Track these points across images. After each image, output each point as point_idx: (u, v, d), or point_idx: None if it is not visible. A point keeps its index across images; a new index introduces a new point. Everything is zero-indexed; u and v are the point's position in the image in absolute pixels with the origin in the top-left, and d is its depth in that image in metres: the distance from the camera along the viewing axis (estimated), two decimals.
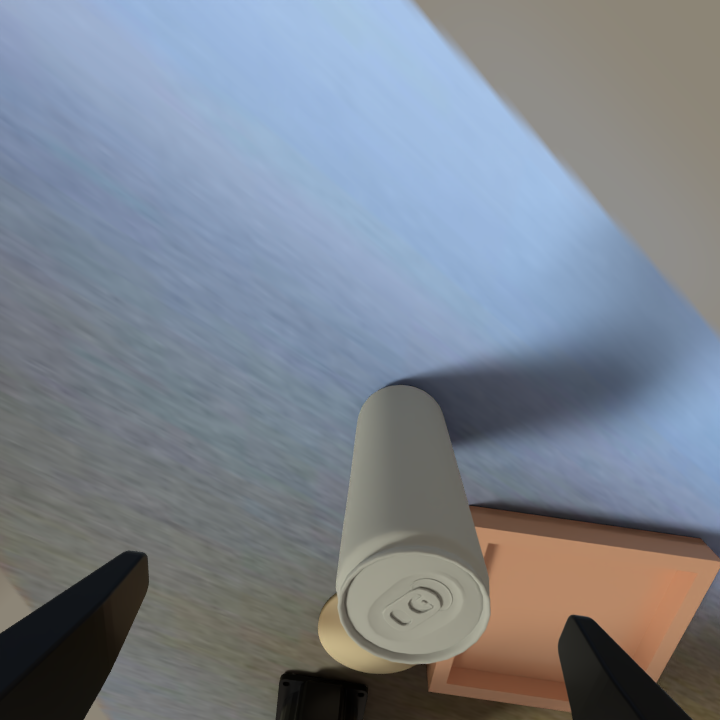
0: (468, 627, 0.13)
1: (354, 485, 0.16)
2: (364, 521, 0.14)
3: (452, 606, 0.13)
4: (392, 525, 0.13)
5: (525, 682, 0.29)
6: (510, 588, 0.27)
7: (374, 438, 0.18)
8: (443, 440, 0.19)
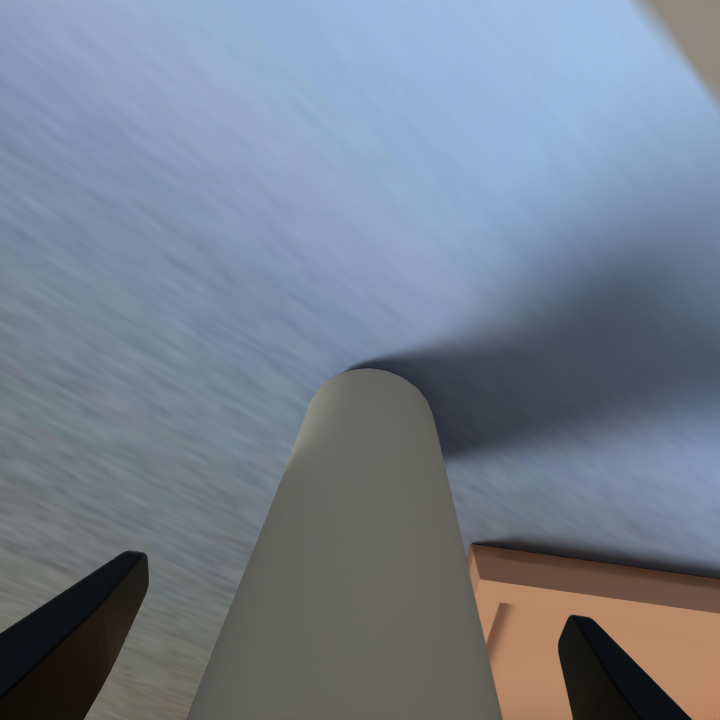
0: None
1: (255, 548, 0.09)
2: (231, 662, 0.06)
3: None
4: (280, 693, 0.05)
5: None
6: (529, 658, 0.19)
7: (307, 454, 0.10)
8: (428, 458, 0.11)
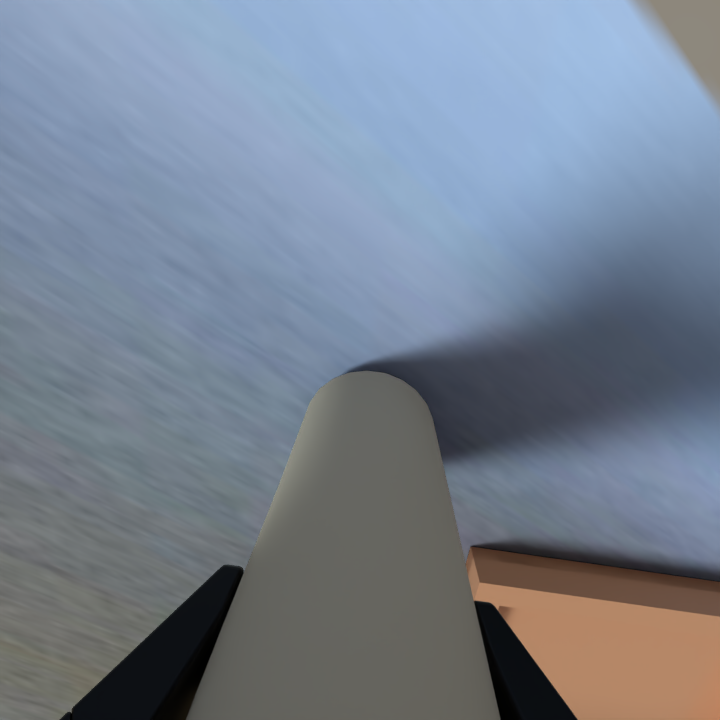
0: None
1: (252, 553, 0.09)
2: (227, 671, 0.06)
3: None
4: (277, 703, 0.05)
5: None
6: None
7: (305, 458, 0.10)
8: (427, 461, 0.11)
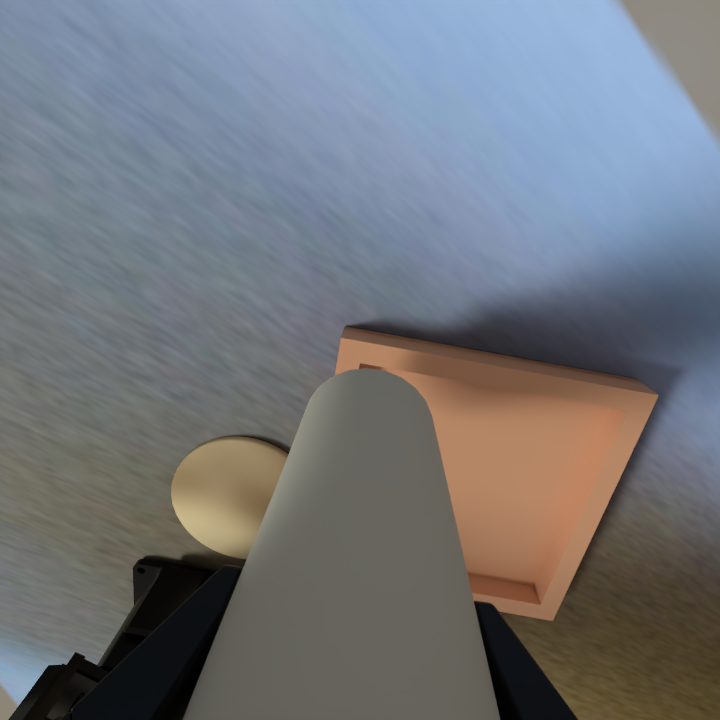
0: None
1: (251, 549, 0.09)
2: (225, 664, 0.06)
3: None
4: (275, 696, 0.05)
5: None
6: None
7: (304, 455, 0.10)
8: (426, 458, 0.11)
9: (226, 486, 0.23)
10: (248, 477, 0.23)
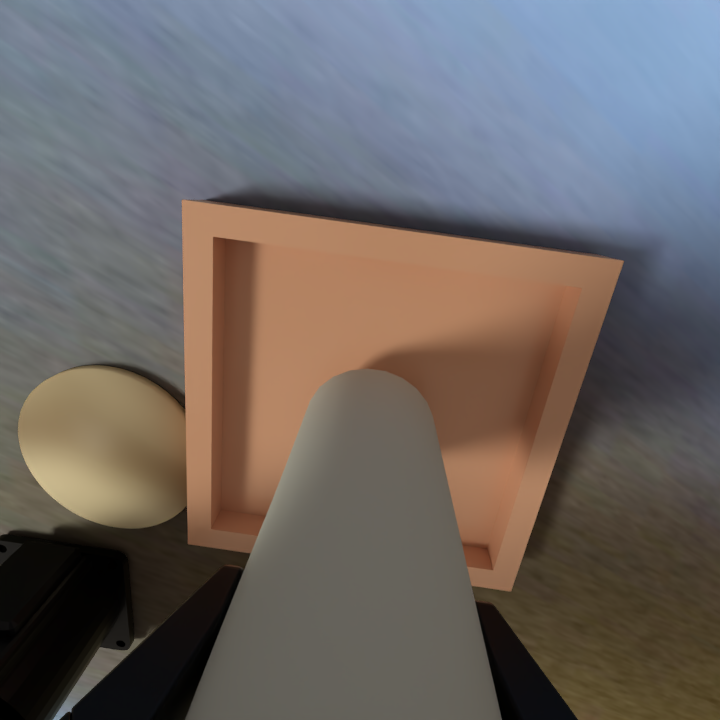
0: None
1: (253, 550, 0.09)
2: (227, 665, 0.06)
3: None
4: (277, 697, 0.05)
5: None
6: (293, 359, 0.16)
7: (305, 456, 0.10)
8: (427, 458, 0.11)
9: (85, 431, 0.18)
10: (110, 418, 0.18)
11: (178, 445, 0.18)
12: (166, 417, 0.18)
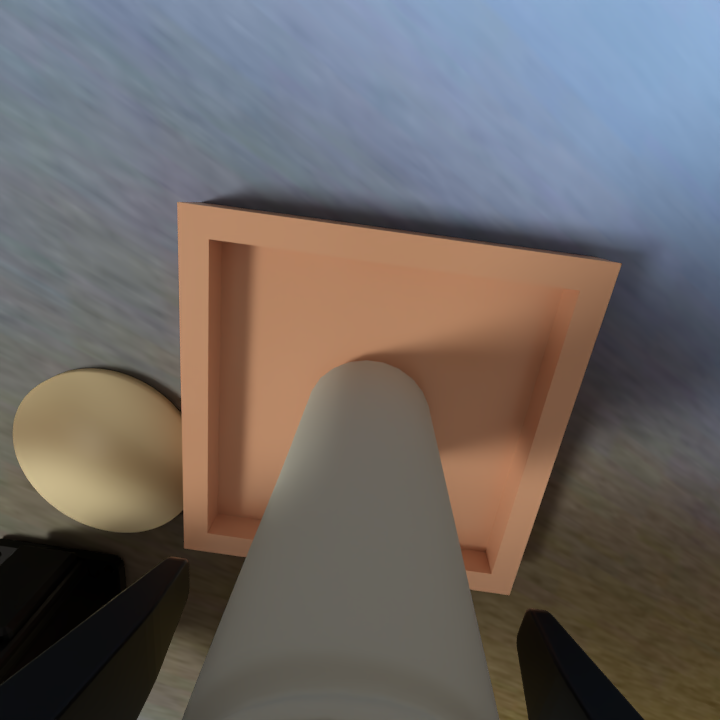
0: None
1: (261, 521, 0.09)
2: (242, 611, 0.07)
3: None
4: (288, 631, 0.06)
5: None
6: (290, 362, 0.16)
7: (308, 438, 0.11)
8: (422, 441, 0.11)
9: (80, 435, 0.18)
10: (106, 422, 0.18)
11: (174, 449, 0.18)
12: (162, 420, 0.18)
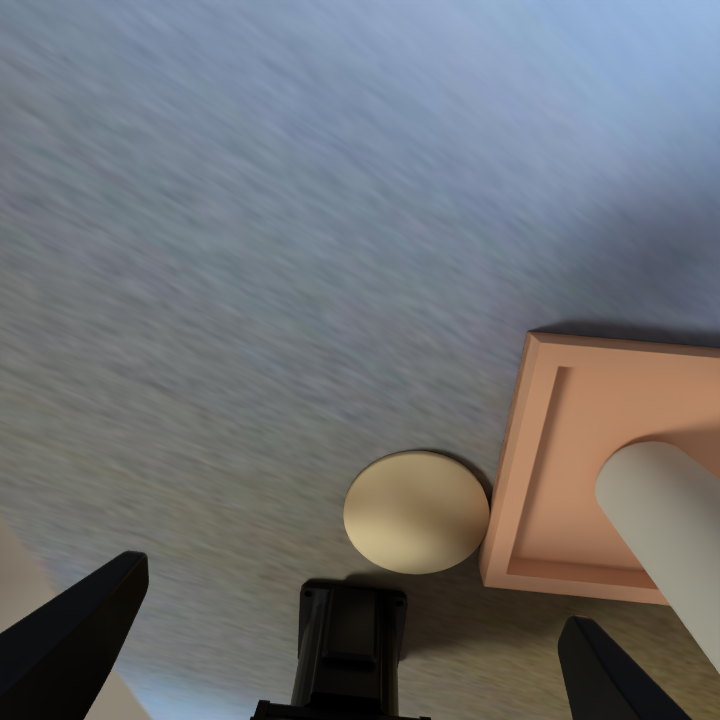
0: None
1: (708, 583, 0.14)
2: None
3: None
4: None
5: (603, 572, 0.24)
6: (583, 442, 0.21)
7: (689, 517, 0.16)
8: None
9: (400, 501, 0.23)
10: (423, 491, 0.23)
11: (474, 509, 0.23)
12: (469, 488, 0.23)
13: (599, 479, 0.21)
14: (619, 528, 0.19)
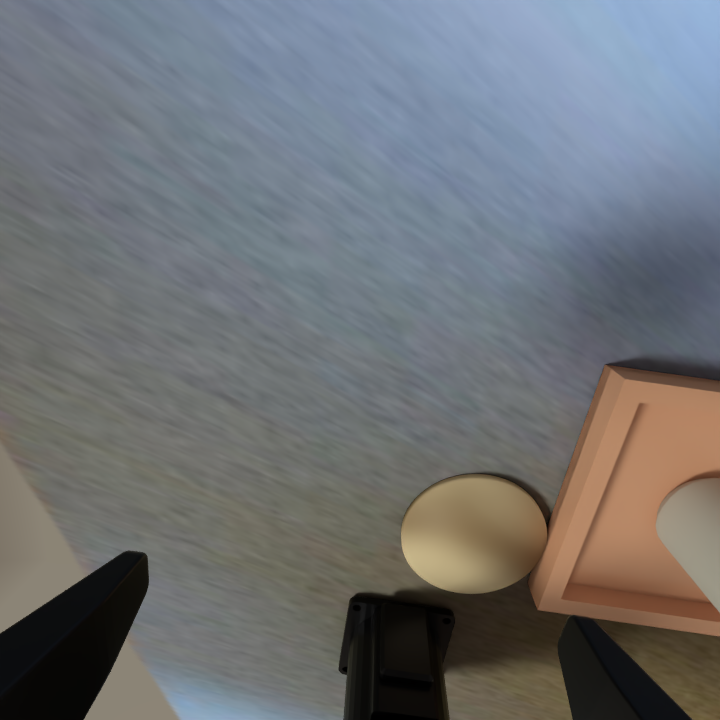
0: None
1: None
2: None
3: None
4: None
5: (653, 600, 0.24)
6: (648, 475, 0.22)
7: None
8: None
9: (460, 523, 0.23)
10: (484, 514, 0.23)
11: (532, 533, 0.23)
12: (530, 514, 0.23)
13: (663, 512, 0.22)
14: (686, 563, 0.20)
